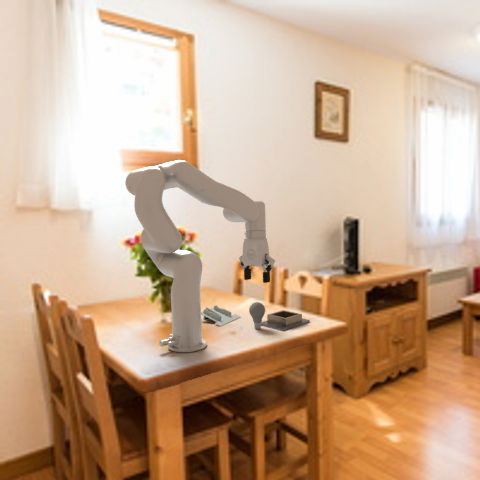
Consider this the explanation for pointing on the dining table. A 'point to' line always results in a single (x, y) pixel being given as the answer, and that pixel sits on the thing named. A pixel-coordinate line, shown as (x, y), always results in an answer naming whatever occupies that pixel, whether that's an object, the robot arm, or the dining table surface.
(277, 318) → the grey square socket base
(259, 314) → the light bulb
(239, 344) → the dining table surface
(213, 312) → the metal bracket
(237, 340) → the dining table surface
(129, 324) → the dining table surface
